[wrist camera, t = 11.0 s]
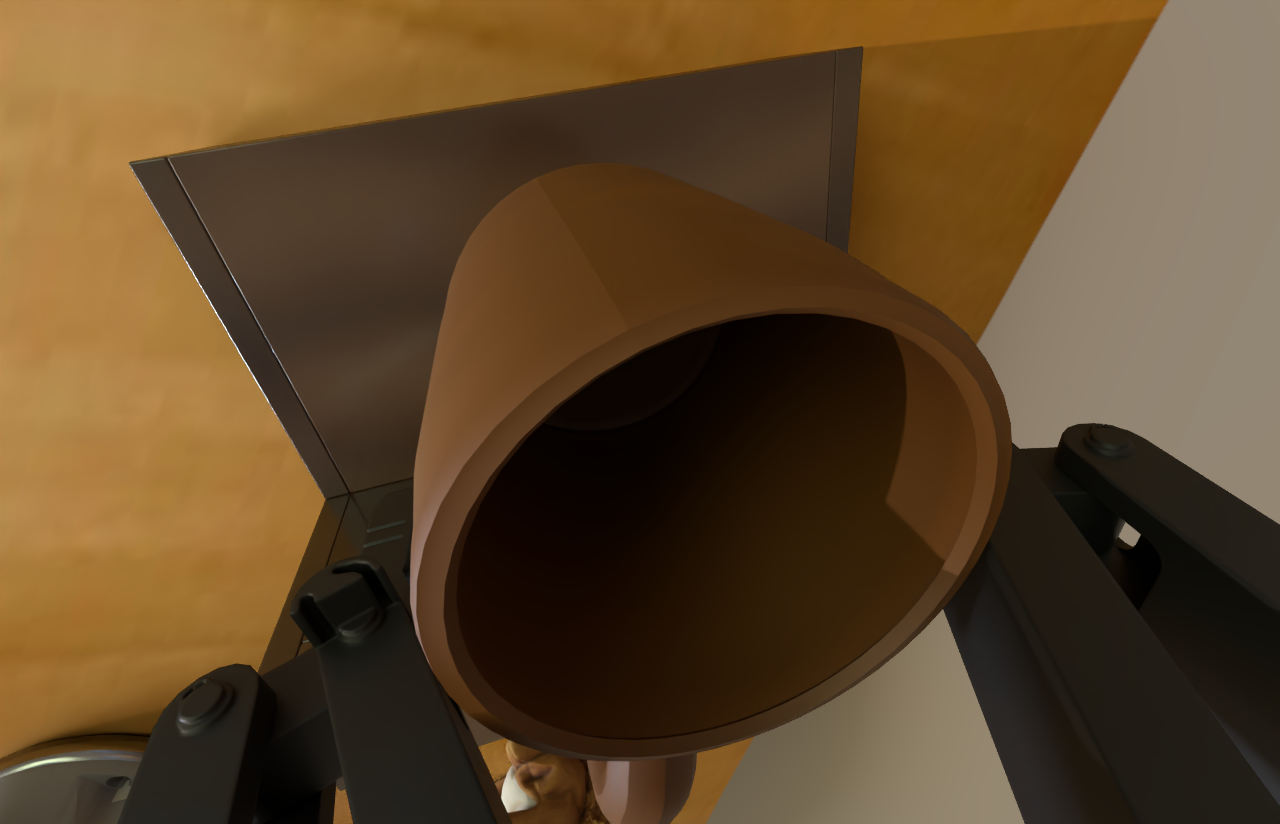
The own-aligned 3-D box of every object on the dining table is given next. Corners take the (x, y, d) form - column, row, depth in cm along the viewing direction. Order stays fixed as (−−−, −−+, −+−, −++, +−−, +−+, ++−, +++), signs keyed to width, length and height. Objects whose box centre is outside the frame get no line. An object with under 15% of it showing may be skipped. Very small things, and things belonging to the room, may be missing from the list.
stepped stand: (204, 147, 23) (-187, 222, 10) (792, 55, 27) (1101, 15, 13) (396, 522, 35) (339, 791, 21) (786, 421, 38) (947, 596, 25)
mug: (680, 539, 19) (818, 849, 11) (455, 556, 17) (430, 951, 9) (763, 177, 13) (1156, 291, 6) (440, 133, 11) (344, 217, 3)
